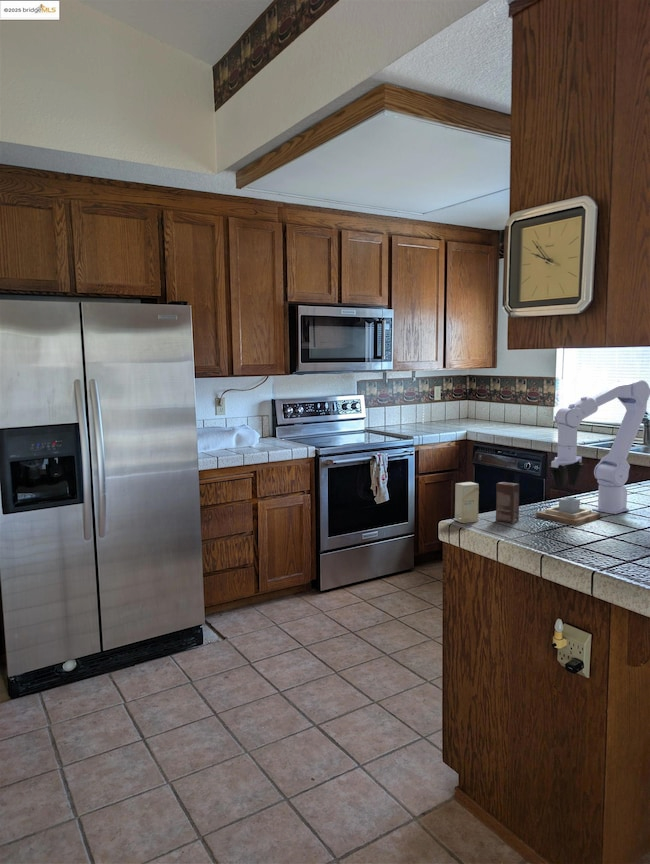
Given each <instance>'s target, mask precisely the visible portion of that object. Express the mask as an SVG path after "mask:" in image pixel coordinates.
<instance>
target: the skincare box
mask: <svg viewBox="0 0 650 864" xmlns="http://www.w3.org/2000/svg"><path fill="white" fill-rule="evenodd" d="M454 489H455V492H454V493H455V494H454V495H455V496H454V499H455V500H454V501H455V502H454V520H455V519H457V520H455V521H456V522H458V523H460V524H465V523H475V522H479V498H480V497H479V494H480V491H479V490H480V486H479V483H477V482H472V481H465V482H458V483H457V482H456V483H455V487H454ZM459 518H461V519H459Z"/></svg>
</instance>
